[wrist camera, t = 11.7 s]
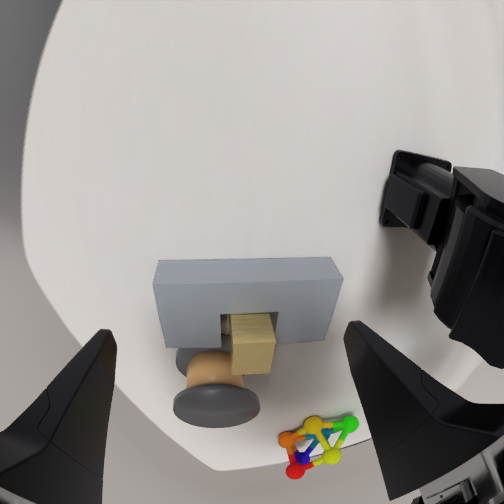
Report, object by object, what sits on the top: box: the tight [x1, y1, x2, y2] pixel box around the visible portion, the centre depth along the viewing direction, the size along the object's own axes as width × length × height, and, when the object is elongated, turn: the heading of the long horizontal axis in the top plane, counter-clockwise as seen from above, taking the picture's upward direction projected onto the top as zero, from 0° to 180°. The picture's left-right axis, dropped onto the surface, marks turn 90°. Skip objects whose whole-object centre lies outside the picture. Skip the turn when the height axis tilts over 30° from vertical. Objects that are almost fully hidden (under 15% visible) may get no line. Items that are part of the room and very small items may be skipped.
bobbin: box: [173, 334, 260, 428], centre depth 26 cm, size 8×8×7 cm
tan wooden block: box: [227, 312, 276, 375], centre depth 23 cm, size 3×4×6 cm
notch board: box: [153, 257, 344, 348], centre depth 23 cm, size 14×7×3 cm, turn 87°
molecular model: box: [278, 415, 359, 479], centre depth 40 cm, size 11×10×15 cm
